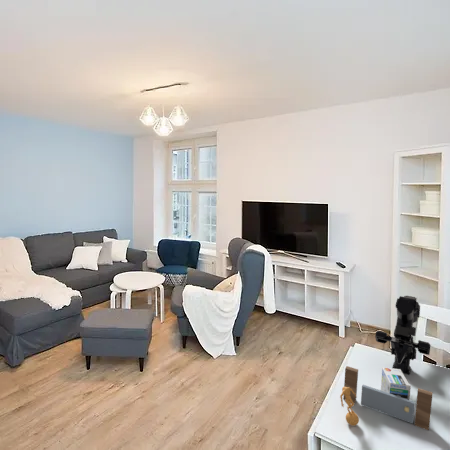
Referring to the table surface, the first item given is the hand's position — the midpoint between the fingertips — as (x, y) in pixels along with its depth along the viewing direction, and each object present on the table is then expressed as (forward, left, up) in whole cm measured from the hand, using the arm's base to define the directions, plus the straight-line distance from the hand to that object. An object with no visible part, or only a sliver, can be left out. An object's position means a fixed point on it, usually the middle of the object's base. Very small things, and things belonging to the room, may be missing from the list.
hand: (399, 363), depth 123 cm
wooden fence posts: (+17, -2, -11) cm, 20 cm away
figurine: (+29, -11, -11) cm, 33 cm away
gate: (+18, -2, -10) cm, 21 cm away
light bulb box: (+10, 0, -11) cm, 15 cm away
